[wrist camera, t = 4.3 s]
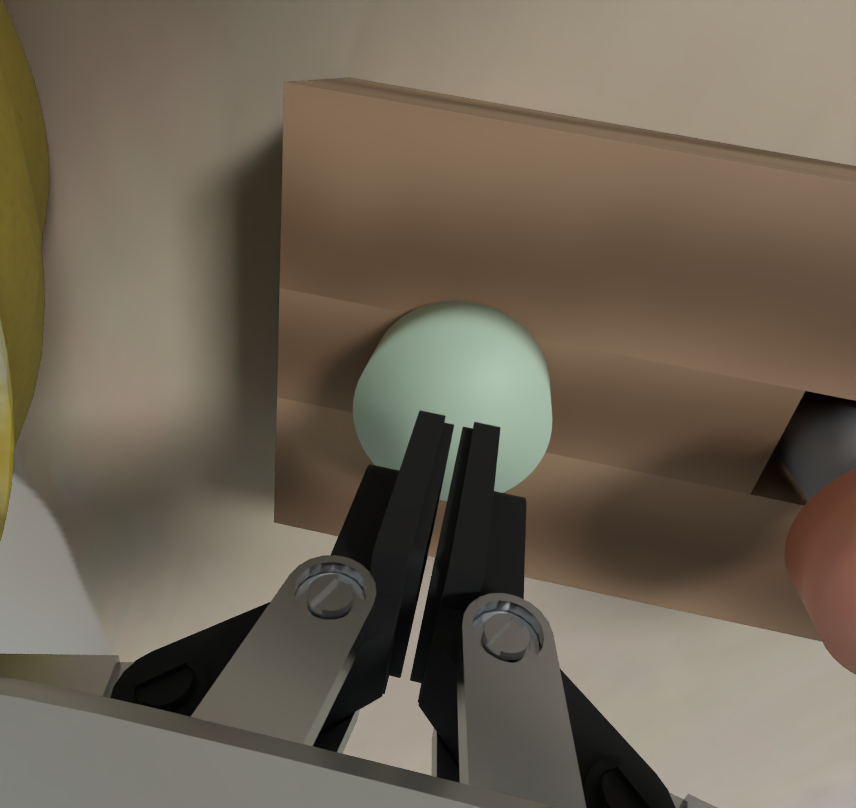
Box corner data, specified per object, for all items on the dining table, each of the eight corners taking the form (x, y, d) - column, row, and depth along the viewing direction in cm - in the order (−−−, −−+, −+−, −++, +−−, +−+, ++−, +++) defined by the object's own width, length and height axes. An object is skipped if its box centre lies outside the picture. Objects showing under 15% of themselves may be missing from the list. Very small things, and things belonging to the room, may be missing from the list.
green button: (413, 234, 21) (362, 310, 14) (562, 262, 21) (576, 351, 14) (396, 366, 24) (345, 480, 17) (527, 392, 23) (526, 518, 17)
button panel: (349, 77, 20) (283, 82, 14) (1048, 200, 18) (1250, 252, 13) (323, 433, 27) (274, 522, 21) (828, 538, 25) (904, 659, 20)
